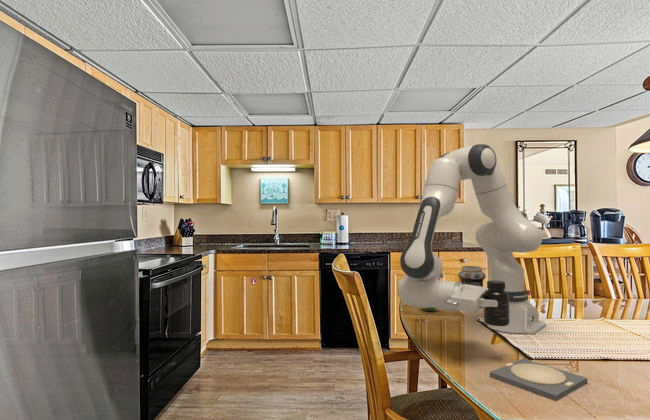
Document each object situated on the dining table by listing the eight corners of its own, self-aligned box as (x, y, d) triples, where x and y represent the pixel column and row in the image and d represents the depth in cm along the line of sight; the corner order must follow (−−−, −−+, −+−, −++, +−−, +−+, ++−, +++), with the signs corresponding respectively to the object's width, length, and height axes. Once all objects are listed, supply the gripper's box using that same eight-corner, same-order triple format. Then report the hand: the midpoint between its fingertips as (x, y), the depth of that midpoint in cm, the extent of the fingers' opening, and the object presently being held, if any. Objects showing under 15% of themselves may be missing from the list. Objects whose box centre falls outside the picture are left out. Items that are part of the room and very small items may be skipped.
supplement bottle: (479, 320, 114) (478, 279, 114) (501, 319, 115) (500, 279, 115) (491, 327, 107) (490, 283, 108) (514, 326, 108) (514, 283, 108)
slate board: (523, 362, 108) (522, 356, 108) (587, 382, 94) (587, 375, 94) (489, 376, 99) (489, 369, 99) (555, 400, 85) (555, 392, 85)
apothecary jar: (490, 305, 177) (489, 266, 177) (480, 310, 168) (479, 269, 168) (464, 301, 185) (464, 264, 185) (453, 306, 176) (453, 266, 177)
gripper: (441, 291, 109) (494, 296, 102) (457, 280, 126) (503, 284, 119) (442, 313, 109) (495, 320, 102) (457, 300, 126) (503, 304, 119)
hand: (499, 300), depth 111 cm, fingers closed on supplement bottle, 7 cm apart
